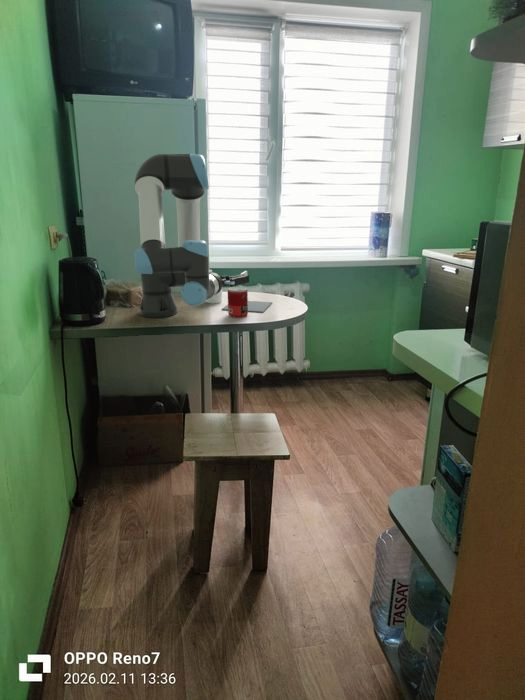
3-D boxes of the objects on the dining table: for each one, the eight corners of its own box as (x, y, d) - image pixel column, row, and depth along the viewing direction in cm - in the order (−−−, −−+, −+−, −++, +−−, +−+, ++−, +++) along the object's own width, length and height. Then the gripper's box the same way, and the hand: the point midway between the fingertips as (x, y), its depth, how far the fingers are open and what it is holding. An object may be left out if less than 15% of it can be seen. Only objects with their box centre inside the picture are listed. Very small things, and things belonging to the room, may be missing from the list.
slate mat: (221, 310, 207) (221, 308, 207) (233, 301, 222) (233, 300, 222) (263, 312, 203) (263, 311, 203) (272, 303, 218) (272, 302, 217)
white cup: (211, 304, 216) (210, 282, 212) (201, 301, 222) (200, 279, 218) (226, 302, 220) (225, 279, 217) (216, 298, 226) (215, 277, 223)
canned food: (245, 318, 195) (245, 291, 192) (226, 317, 197) (225, 290, 193) (249, 313, 202) (249, 286, 199) (231, 312, 204) (230, 286, 200)
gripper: (174, 294, 168) (197, 282, 187) (245, 298, 162) (261, 285, 181) (173, 272, 165) (196, 262, 185) (244, 275, 159) (261, 264, 179)
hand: (228, 274), depth 183 cm, fingers open, 13 cm apart
